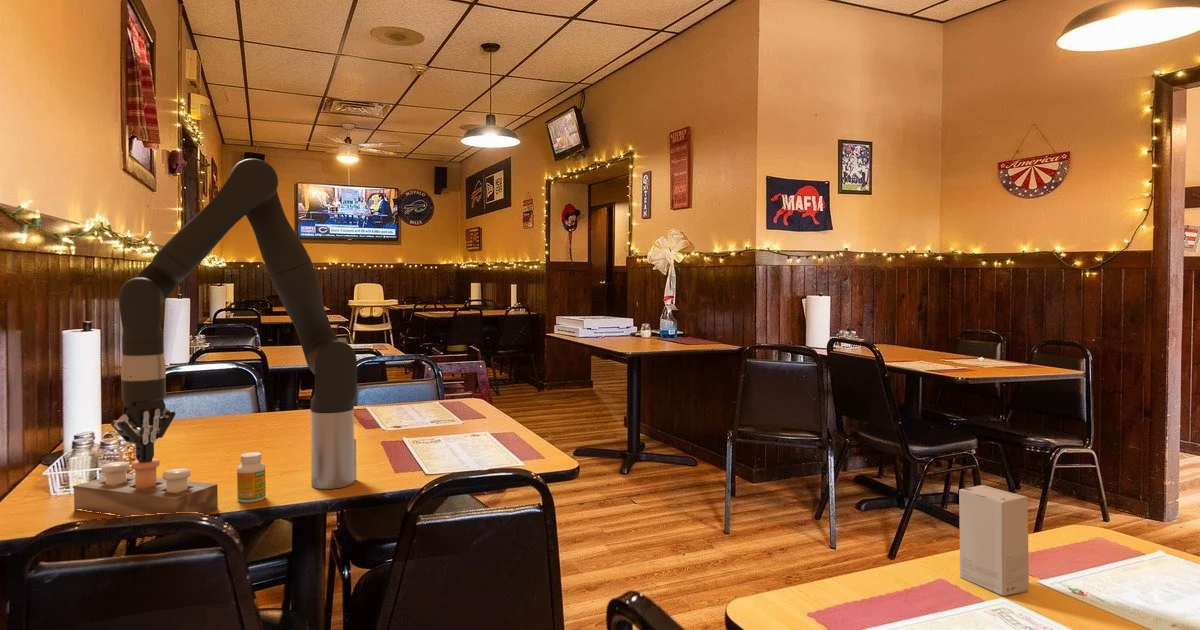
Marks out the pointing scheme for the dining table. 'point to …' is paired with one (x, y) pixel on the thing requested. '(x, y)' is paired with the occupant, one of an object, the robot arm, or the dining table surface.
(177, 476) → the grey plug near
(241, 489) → the supplement bottle
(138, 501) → the walnut socket board
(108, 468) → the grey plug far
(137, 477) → the terracotta plug
